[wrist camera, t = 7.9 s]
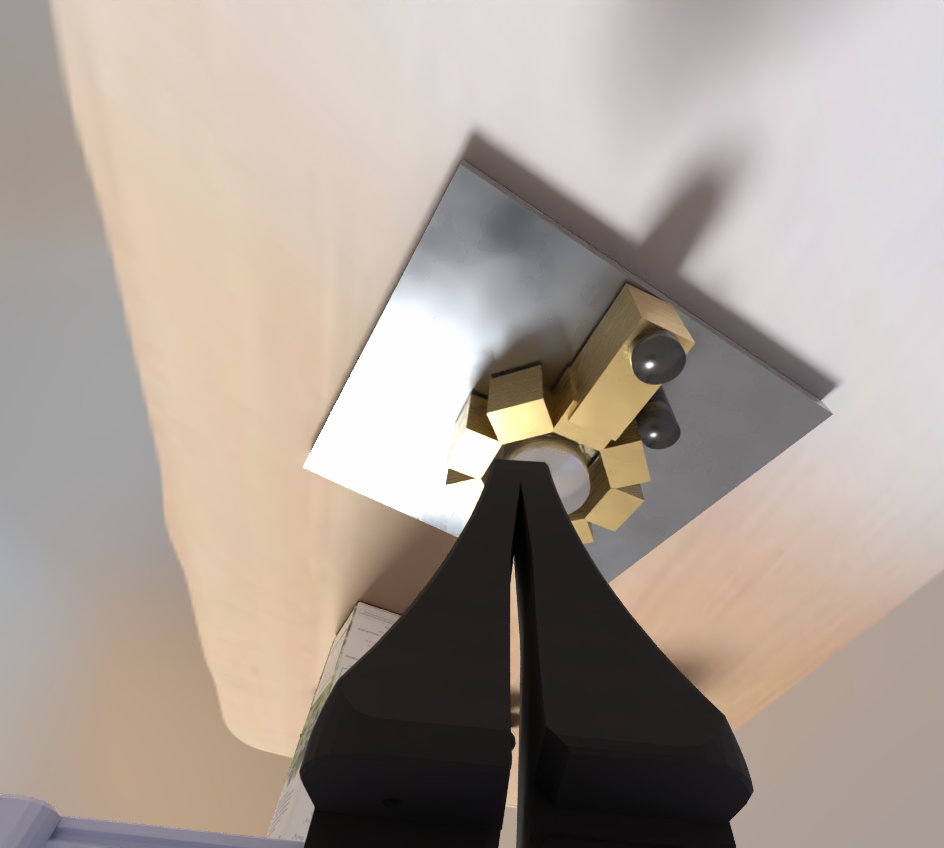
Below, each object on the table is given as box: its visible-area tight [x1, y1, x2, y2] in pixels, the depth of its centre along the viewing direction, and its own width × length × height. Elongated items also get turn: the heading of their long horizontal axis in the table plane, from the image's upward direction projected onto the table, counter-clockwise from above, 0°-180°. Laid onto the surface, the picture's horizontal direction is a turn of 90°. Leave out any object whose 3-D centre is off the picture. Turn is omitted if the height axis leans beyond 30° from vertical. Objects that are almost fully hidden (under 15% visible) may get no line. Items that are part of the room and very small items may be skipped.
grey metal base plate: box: [303, 159, 833, 583], centre depth 22 cm, size 18×16×4 cm
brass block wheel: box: [445, 283, 695, 544], centre depth 20 cm, size 12×8×4 cm
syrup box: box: [266, 602, 401, 842], centre depth 29 cm, size 6×6×14 cm
